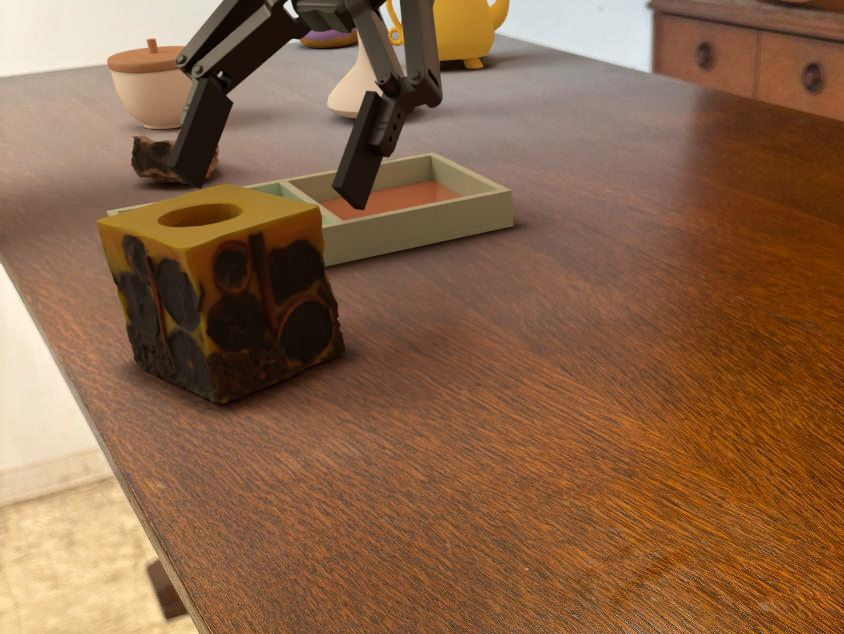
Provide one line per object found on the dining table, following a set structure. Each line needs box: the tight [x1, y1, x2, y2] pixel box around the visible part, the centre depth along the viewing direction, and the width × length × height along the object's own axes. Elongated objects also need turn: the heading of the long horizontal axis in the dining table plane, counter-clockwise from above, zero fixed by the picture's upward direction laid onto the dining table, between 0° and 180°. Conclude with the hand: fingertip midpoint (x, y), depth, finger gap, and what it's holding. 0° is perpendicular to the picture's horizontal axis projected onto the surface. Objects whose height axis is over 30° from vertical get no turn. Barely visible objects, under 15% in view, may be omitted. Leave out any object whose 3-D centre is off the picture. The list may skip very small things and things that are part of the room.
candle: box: [96, 183, 346, 404], centre depth 69 cm, size 10×10×10 cm
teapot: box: [384, 0, 510, 70], centre depth 152 cm, size 14×20×13 cm
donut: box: [298, 28, 358, 49], centre depth 172 cm, size 10×9×5 cm
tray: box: [106, 151, 514, 268], centre depth 92 cm, size 16×30×3 cm, turn 119°
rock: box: [130, 135, 220, 185], centre depth 110 cm, size 9×6×10 cm
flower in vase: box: [326, 31, 418, 120], centre depth 123 cm, size 13×11×25 cm
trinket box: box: [106, 37, 192, 130], centre depth 129 cm, size 11×11×9 cm
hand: (262, 188), depth 70 cm, fingers open, 13 cm apart
